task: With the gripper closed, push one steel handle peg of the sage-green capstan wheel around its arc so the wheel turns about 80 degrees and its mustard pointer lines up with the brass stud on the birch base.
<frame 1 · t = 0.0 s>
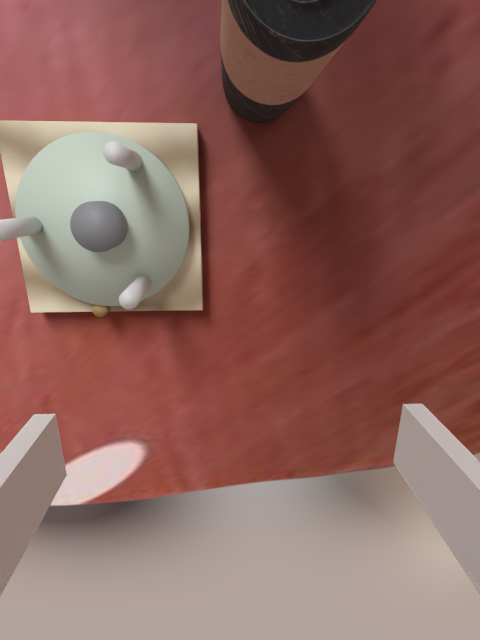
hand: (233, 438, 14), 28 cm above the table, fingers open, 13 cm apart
travel mug: (259, 81, 35), on the table
capstan: (95, 227, 32), point 6 cm above the table, hinge at 0.0°
stand base: (113, 222, 38), on the table
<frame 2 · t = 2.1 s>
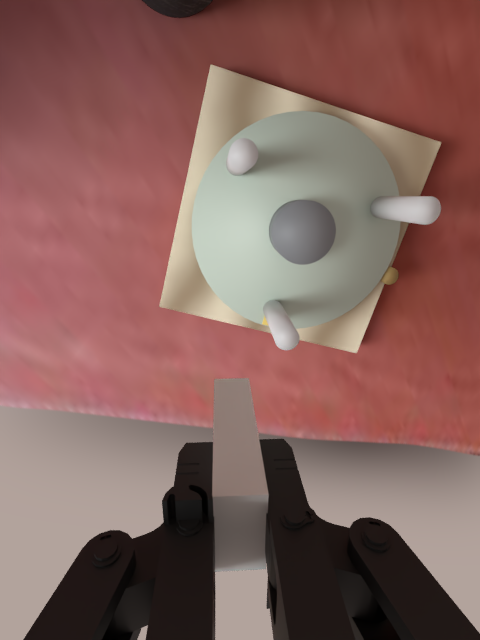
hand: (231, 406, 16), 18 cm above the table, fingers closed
capstan: (305, 233, 25), point 6 cm above the table, hinge at 0.0°
stand base: (288, 226, 31), on the table
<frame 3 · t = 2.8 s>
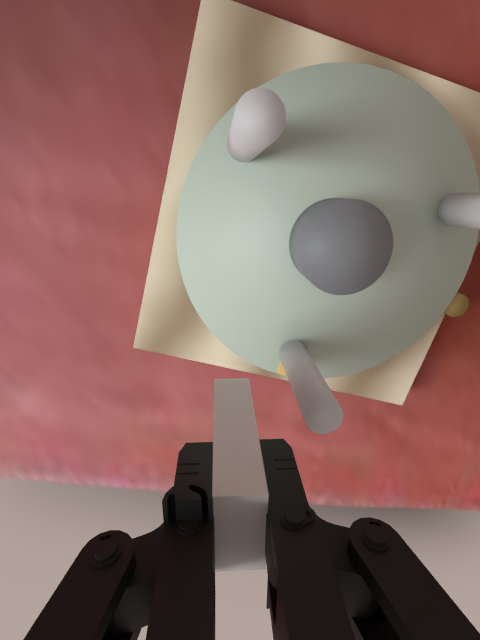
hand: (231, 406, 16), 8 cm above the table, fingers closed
capstan: (348, 249, 17), point 6 cm above the table, hinge at 0.0°
stand base: (313, 235, 22), on the table
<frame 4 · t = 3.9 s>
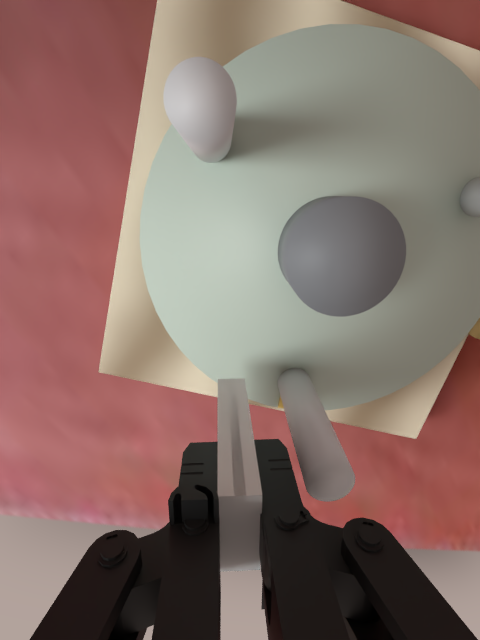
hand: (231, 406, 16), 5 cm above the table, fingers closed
capstan: (348, 260, 13), point 6 cm above the table, hinge at 4.5°, touching gripper
stand base: (310, 240, 19), on the table
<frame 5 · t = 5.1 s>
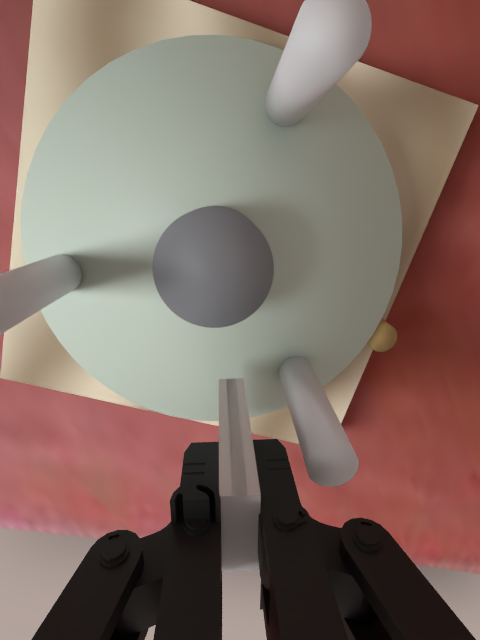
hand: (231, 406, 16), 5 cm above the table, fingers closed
capstan: (213, 272, 13), point 6 cm above the table, hinge at 50.6°, touching gripper
stand base: (217, 248, 19), on the table
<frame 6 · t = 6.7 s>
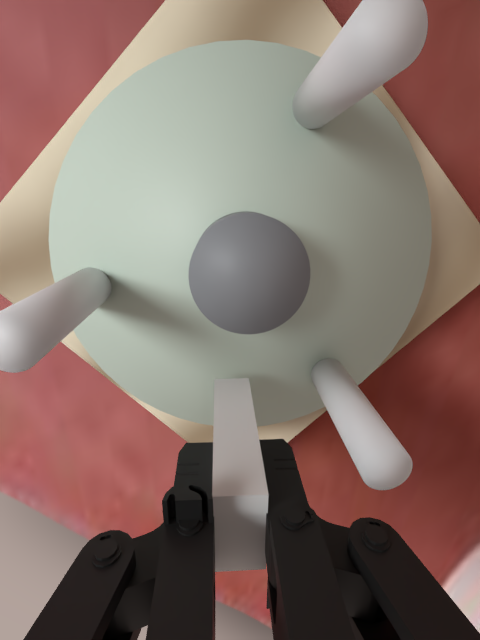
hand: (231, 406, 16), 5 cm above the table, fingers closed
capstan: (250, 278, 13), point 6 cm above the table, hinge at 83.1°
stand base: (240, 253, 19), on the table
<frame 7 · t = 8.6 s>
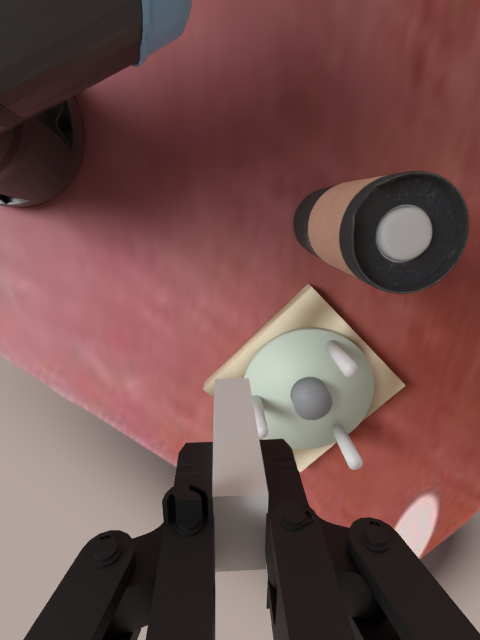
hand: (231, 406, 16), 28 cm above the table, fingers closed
travel mug: (323, 222, 42), on the table
capstan: (313, 404, 41), point 6 cm above the table, hinge at 83.1°
stand base: (302, 380, 47), on the table
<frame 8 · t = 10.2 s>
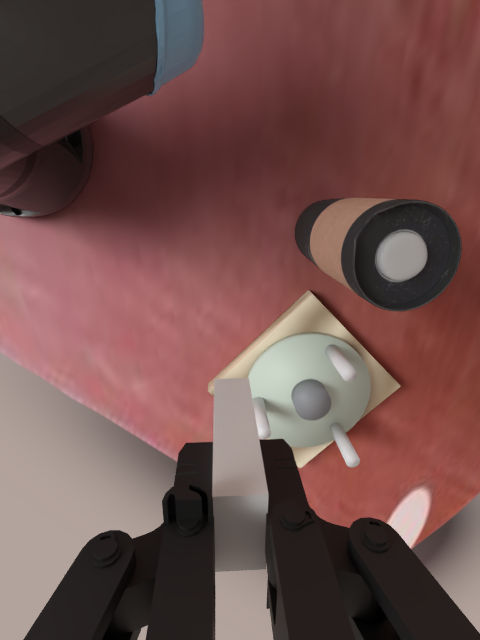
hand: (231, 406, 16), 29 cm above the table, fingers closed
travel mug: (323, 231, 43), on the table
capstan: (313, 405, 43), point 6 cm above the table, hinge at 83.1°
stand base: (302, 381, 49), on the table
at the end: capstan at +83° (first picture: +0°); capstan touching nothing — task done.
